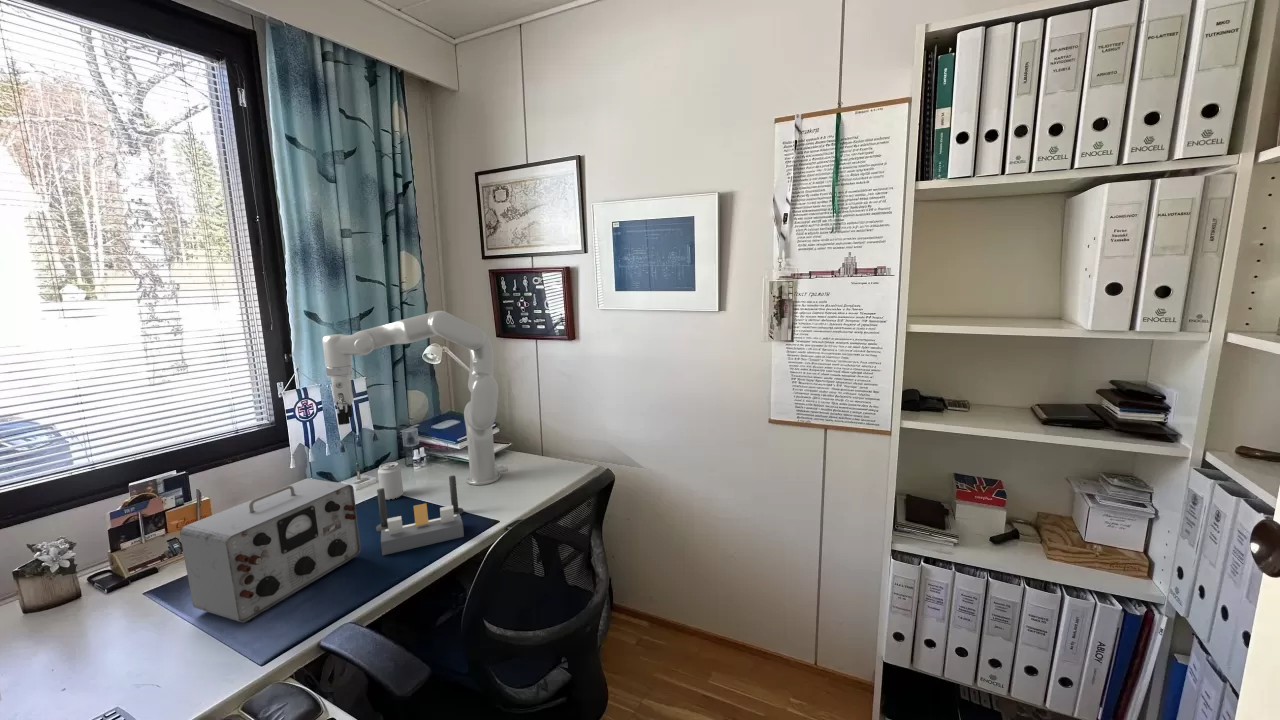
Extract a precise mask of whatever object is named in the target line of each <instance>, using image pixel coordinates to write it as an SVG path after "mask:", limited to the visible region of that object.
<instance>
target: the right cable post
mask: <svg viewBox="0 0 1280 720" xmlns="http://www.w3.org/2000/svg"><path fill="white" fill-rule="evenodd" d="M456 477H457V476H456V475H449V476H448V479H449V480H448V481H449V492H450V493H449V494H450V501H451V506H452V505H453V510H454V515H455V514H461V515H463V514H464V508H463V507H459V502H458V501H459V500H458V491H457V490H458V489H457V488H458V487H457V478H456ZM462 513H463V514H462Z"/></svg>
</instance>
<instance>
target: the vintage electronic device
mask: <svg viewBox="0 0 1280 720" xmlns="http://www.w3.org/2000/svg"><path fill="white" fill-rule="evenodd" d="M355 498H356V497H355V491H354V486H353V485H352V484H349V483H343V482H342V483H341V482H336V481H329V480H322V479H316V478H315V479H314V478H311V477H310V478H309V477H308V478H304V479H302V480H299V481H297V482H294V483H291V484H288V485H287V486H283V487H280V488H278V489H276V490H273V491H271V492H268V493H265V494H263V495H261V496H258V497H255V498H253V499H250V500H248V501H245V502H242V503H240V504H237V505H234V506H232V507H230V508H228V509H225V510H222V511H220V512H217V513H214V514H212V515H210V516H207V517H204V518H202V519H199V520H196V521H193V522H192V523H188V524H186V525H185V526H183V527H182V528H181V529H180V532H179V536H180V542H181V547H182V552H183V557H184V558H183V559H184V562H185V563H184V564H185V568H186V569H185V570H186V575H187V579H188V585H189V591H190V596H191V602H192V606H193V608H194V609H197V610H199V611H200V610H201V611H204V612H207V613H210V614H213V615H217V616H221V617H223V618H227V619H230V620H233V621H236V622H239V623H249V622H251V621H253V620H254V619H255V618H256V617H257V616H258V615H259V614H261V613H263V612H264V611H267V610H268V609H270V608H272V607H273V606H275V605H276V604H278V603H280V602H281V601H283V600H285V599H287V598H288V597H290V596H292V595H293V594H295V593H296V592H298V591H300V590H302V589H303V588H305V587H307V586H309V585H310V584H312V583H314V582H315V581H317V580H318V579H320V578H322V577H324V576H325V575H327V574H328V573H331V572H332V571H333V570H335V569H337V568H338V567H340V566H342V565H346V564H348V563H350V561H351V560H353V559H354V558H356V557H357V556H358V555H359V554H360V553H361V549H362V548H361V547H362V546H361V541H360V530H359V524H358V514H357V505H356V499H355Z"/></svg>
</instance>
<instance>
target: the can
mask: <svg viewBox="0 0 1280 720" xmlns="http://www.w3.org/2000/svg"><path fill="white" fill-rule="evenodd" d="M377 479H378V486H379V487H378V489H381V488H384V491H385V500H387V501H390V499H392V500H396V499H398V498H400V497H401V496H402V495H403V494H404V487H403V485H404V484H403V476H402V468H401V466H400V465H399V463H398V462H397V461H396V462H395V461H393V462H385V463H383V464H381V465H379V468H378V470H377ZM395 498H396V499H395Z"/></svg>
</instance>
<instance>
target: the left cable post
mask: <svg viewBox="0 0 1280 720" xmlns="http://www.w3.org/2000/svg"><path fill="white" fill-rule="evenodd" d="M376 493H377V494H376V495H377V501H378V502H377V503H378V509H379V518H380V524H377V525H376V527H375V531H376V532H378V533H381V530H385V529H388V523H387V519H388V510H387V509H388V508H387V502H386V500H385V491H384V488H381V489H380V488H378V489H377V490H376Z"/></svg>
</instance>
